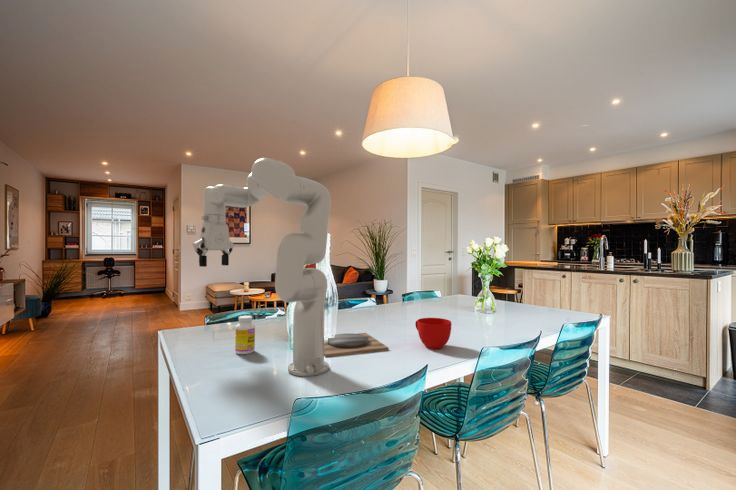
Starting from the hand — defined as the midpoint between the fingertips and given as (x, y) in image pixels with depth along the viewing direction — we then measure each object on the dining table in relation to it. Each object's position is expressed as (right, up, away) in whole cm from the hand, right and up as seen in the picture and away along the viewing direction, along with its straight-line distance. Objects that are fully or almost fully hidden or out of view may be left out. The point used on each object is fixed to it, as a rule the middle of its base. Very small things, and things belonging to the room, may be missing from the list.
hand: (214, 265), depth 131 cm
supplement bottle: (+13, -31, -4) cm, 34 cm away
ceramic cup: (+82, -32, +5) cm, 88 cm away
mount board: (+50, -31, +6) cm, 59 cm away
